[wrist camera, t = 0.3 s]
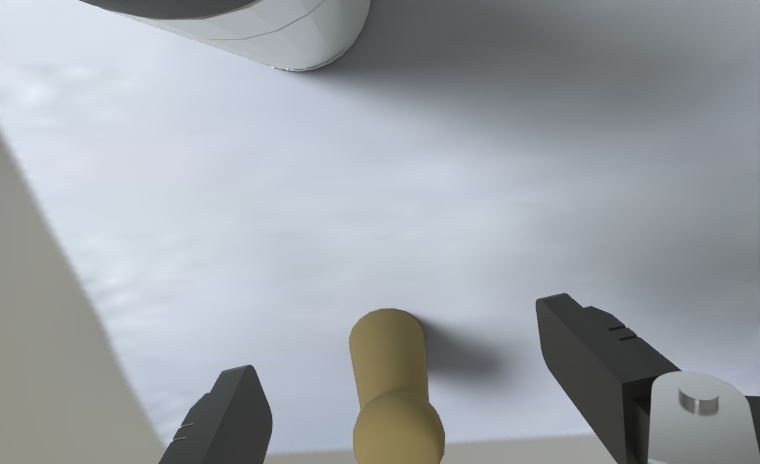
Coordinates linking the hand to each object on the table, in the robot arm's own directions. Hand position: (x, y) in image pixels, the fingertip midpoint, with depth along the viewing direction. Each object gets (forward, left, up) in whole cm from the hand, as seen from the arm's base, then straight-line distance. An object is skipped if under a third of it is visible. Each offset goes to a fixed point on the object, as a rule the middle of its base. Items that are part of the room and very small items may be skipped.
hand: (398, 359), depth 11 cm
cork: (+11, -2, -18) cm, 21 cm away
